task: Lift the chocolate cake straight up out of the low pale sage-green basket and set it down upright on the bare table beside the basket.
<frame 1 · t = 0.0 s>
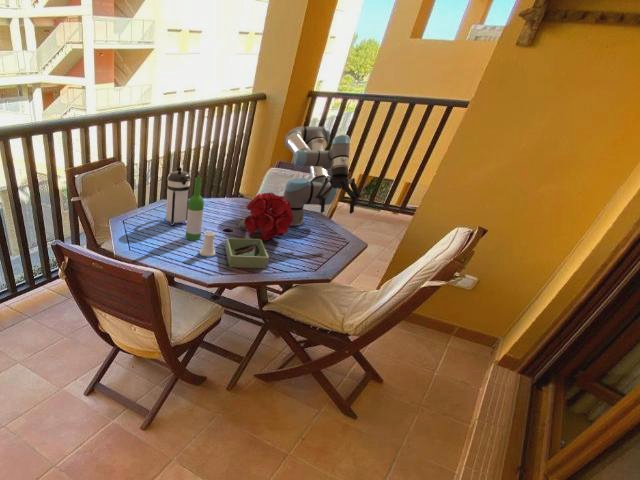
hand: (337, 212, 188), 15 cm above the table, tool tilted 35°, fingers open, 13 cm apart
coffee press: (174, 222, 225), on the table
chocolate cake: (244, 257, 183), resting on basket
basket: (244, 257, 183), on the table
bouquet: (261, 237, 205), on the table
wine bottle: (192, 238, 204), on the table
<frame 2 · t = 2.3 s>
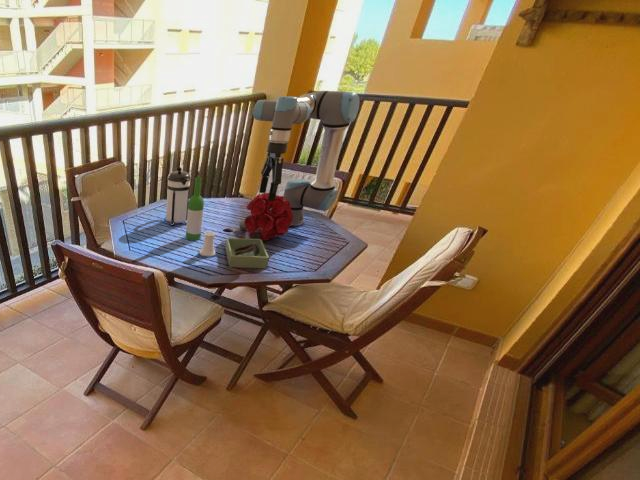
hand: (266, 196, 166), 28 cm above the table, tool pointing down, fingers open, 13 cm apart
nothing on the table moved.
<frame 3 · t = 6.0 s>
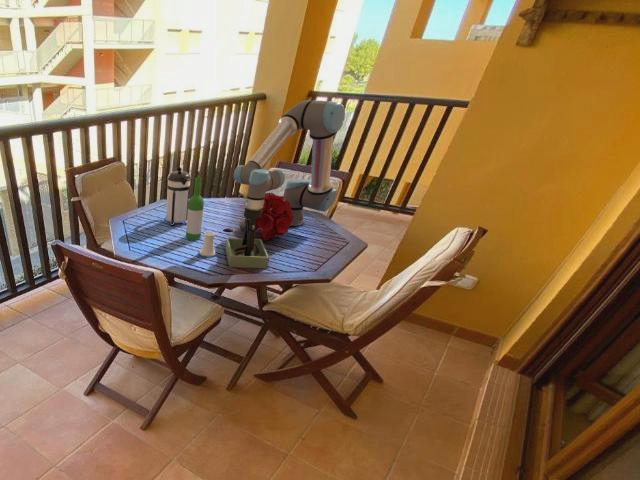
hand: (245, 255, 183), 1 cm above the table, tool pointing down, fingers closed on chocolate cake, 9 cm apart
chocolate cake: (244, 257, 183), resting on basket, touching gripper
everything else where it was.
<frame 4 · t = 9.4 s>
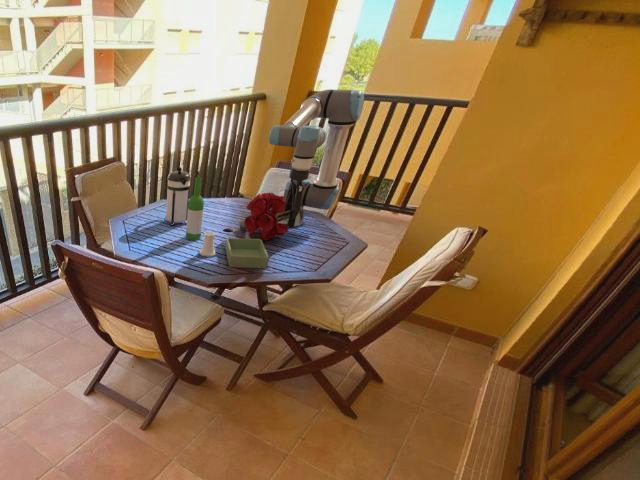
hand: (288, 222, 173), 17 cm above the table, tool pointing down, fingers closed on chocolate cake, 9 cm apart
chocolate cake: (287, 223, 173), point 16 cm above the table, touching gripper
everything else where it was.
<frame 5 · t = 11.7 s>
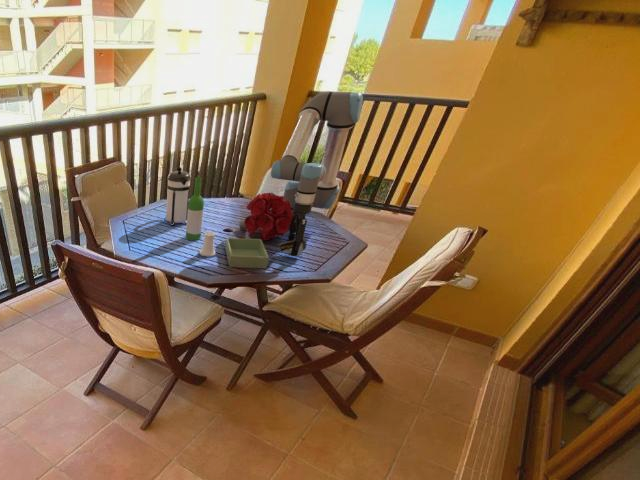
hand: (291, 251, 181), 3 cm above the table, tool pointing down, fingers closed on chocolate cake, 9 cm apart
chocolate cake: (290, 253, 181), point 2 cm above the table, touching gripper
everything else where it was.
when the fingers open (1 cm above the table, at t = 13.1 s): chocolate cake stays where it is, on the table.
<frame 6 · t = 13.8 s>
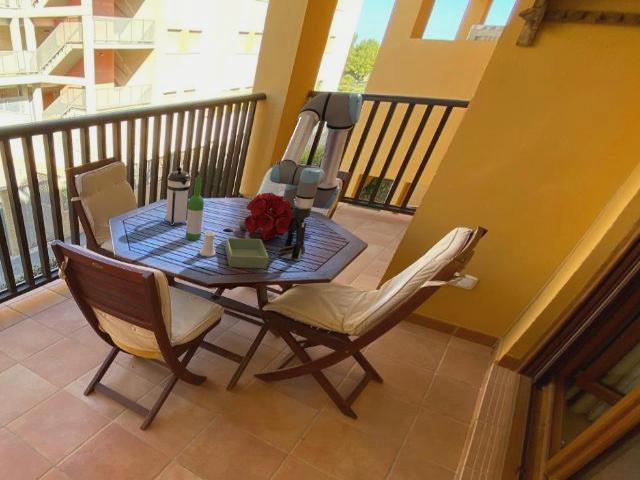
hand: (291, 252, 181), 3 cm above the table, tool pointing down, fingers open, 13 cm apart
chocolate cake: (289, 258, 183), on the table
everything else where it was.
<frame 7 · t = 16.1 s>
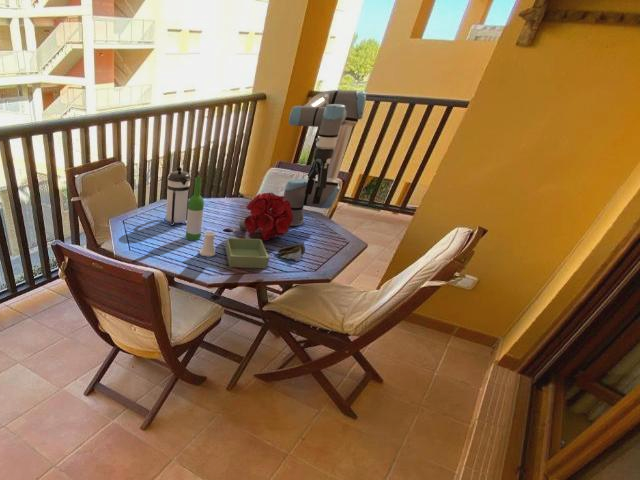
hand: (311, 198, 175), 25 cm above the table, tool pointing down, fingers open, 13 cm apart
nothing on the table moved.
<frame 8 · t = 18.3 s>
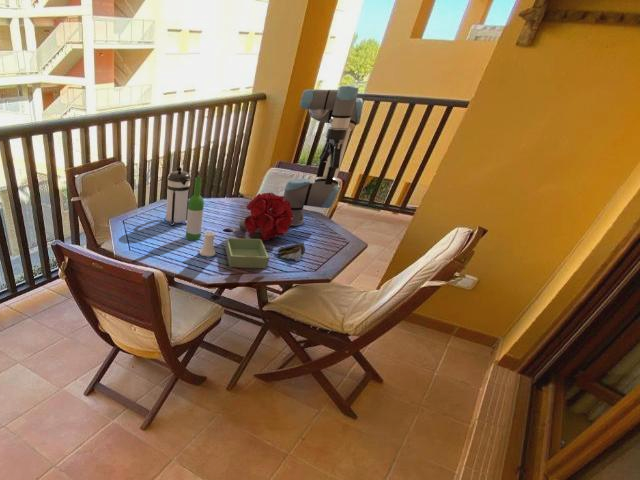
hand: (323, 180, 178), 31 cm above the table, tool pointing down, fingers open, 13 cm apart
nothing on the table moved.
at the end: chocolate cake inside the target area (0.1 cm from its centre), on the table; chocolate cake tilted 0°; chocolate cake touching table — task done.
